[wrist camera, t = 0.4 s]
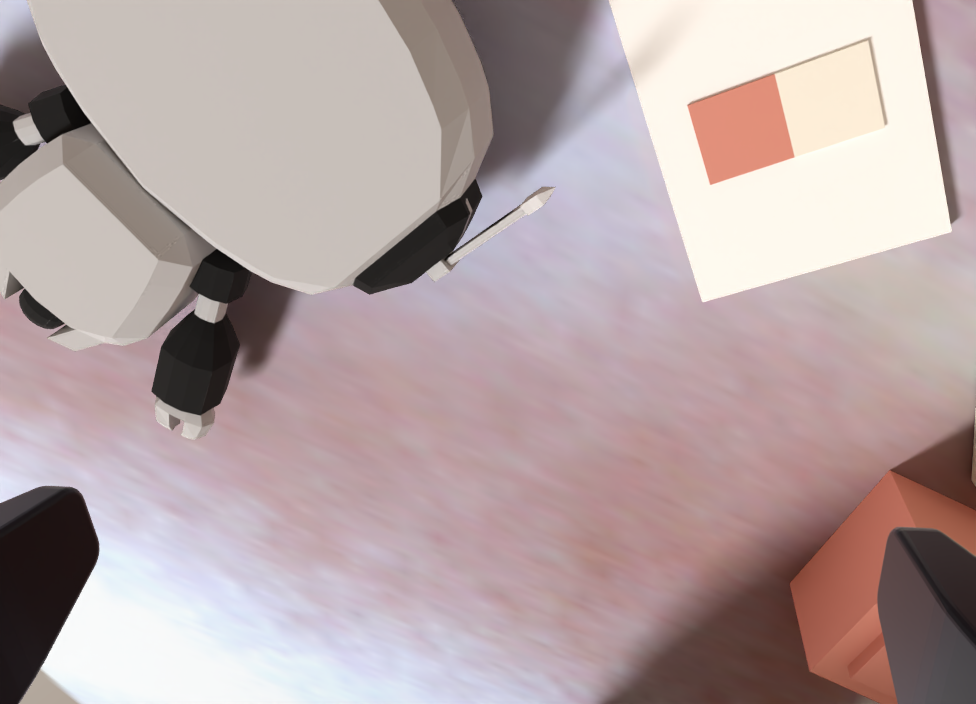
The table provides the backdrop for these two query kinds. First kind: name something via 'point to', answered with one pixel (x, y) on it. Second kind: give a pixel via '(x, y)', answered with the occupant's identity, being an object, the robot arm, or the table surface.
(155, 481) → the table surface
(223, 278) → the robot toy
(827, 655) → the red block
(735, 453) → the table surface
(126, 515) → the table surface
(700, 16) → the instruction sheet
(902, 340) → the table surface
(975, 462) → the plate
